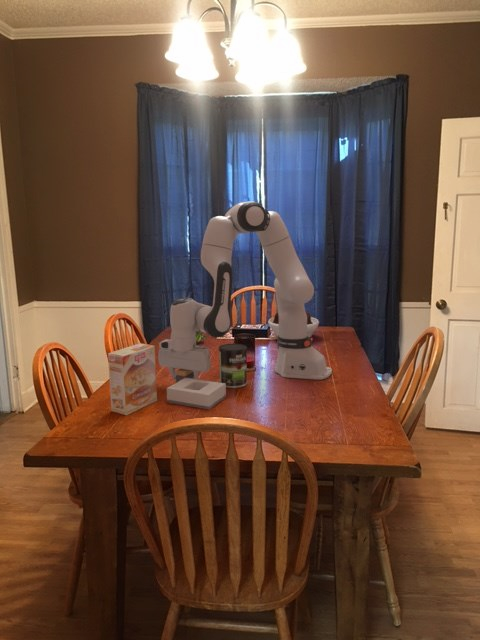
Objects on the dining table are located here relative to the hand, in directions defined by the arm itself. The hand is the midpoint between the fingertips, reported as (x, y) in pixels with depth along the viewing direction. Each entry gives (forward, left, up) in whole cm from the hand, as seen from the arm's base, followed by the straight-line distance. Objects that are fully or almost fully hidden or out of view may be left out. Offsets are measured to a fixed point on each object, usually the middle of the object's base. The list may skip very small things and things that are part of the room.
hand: (185, 380), depth 184 cm
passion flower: (+30, -59, -3) cm, 66 cm away
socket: (-10, +9, -3) cm, 14 cm away
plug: (0, 0, -3) cm, 3 cm away
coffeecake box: (+6, +22, -3) cm, 23 cm away
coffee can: (-14, -11, -3) cm, 18 cm away
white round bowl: (-12, -83, -3) cm, 84 cm away
